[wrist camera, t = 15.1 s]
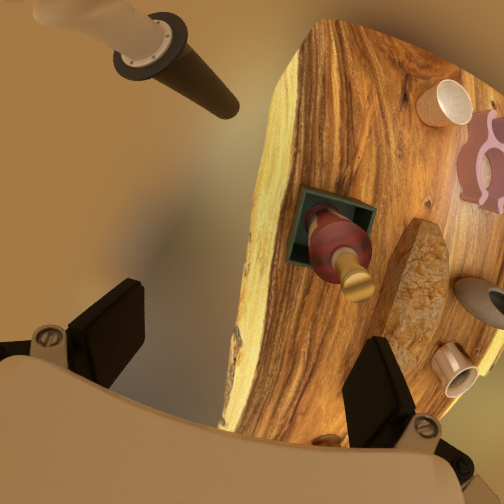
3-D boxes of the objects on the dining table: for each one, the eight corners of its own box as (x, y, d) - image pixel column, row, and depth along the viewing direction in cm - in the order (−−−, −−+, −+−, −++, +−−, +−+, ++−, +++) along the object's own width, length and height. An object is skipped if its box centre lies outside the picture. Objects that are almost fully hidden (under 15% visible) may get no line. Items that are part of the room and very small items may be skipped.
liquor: (297, 209, 47) (302, 261, 21) (335, 195, 45) (390, 231, 19) (310, 247, 49) (328, 336, 22) (348, 234, 47) (405, 309, 20)
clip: (461, 104, 35) (479, 99, 29) (499, 127, 34) (518, 126, 28) (451, 195, 42) (470, 200, 35) (489, 212, 41) (508, 218, 34)
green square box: (301, 184, 46) (303, 188, 36) (359, 200, 45) (376, 208, 35) (286, 243, 50) (285, 262, 40) (343, 257, 49) (355, 279, 39)
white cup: (443, 96, 36) (469, 85, 26) (447, 133, 38) (475, 128, 29) (410, 88, 37) (433, 74, 28) (414, 127, 39) (439, 119, 30)
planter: (495, 277, 44) (540, 312, 26) (484, 303, 46) (525, 343, 29) (447, 260, 46) (497, 299, 28) (435, 291, 48) (477, 338, 30)
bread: (393, 369, 55) (404, 397, 45) (353, 368, 56) (360, 397, 46) (443, 224, 44) (470, 237, 34) (399, 214, 45) (421, 225, 35)
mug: (424, 373, 54) (437, 402, 44) (436, 336, 51) (454, 364, 40) (454, 367, 53) (469, 392, 42) (467, 330, 49) (487, 355, 39)
